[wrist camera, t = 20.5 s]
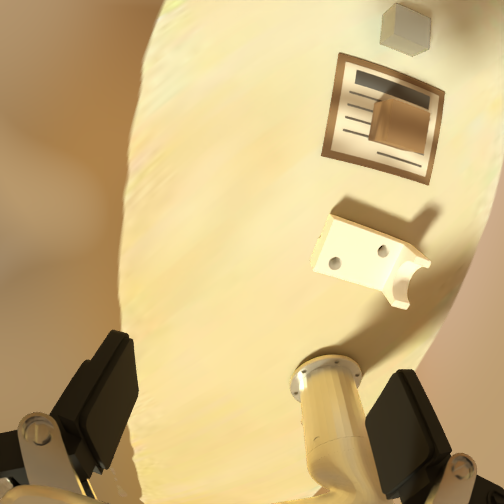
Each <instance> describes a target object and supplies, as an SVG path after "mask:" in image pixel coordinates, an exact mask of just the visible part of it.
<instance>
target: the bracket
mask: <svg viewBox="0 0 504 504" xmlns="http://www.w3.org/2000/svg"><path fill="white" fill-rule="evenodd" d="M382 245H383V246H382ZM380 246H382V248H381V249H380V250H378V249H379V247H380ZM333 257H335V258H334V259H332V258H333ZM330 259H332V260H330ZM310 263H311V266H312V269H313V271H316V272H319V273H322V274H326V275H329V276H332V277H336V278H339V279H343V280H346V281H349V282H353V283H356V284H360V285H363V286H366V287H370V288H373V289H377V290H380V291H382V293H383V294H384V296H385V297H386V298H387V300H388V301H389V303H390V304H391V306H393V307H397V308H401V309H405V310H407V309H408V307H409V305H410V303H409V301H408V296H407V291H408V285H409V282H410V279H411V277H412V275H413V274H414V272H415V271H416V270H417V269H419V268H420V267H426V268H429V266H430V264H431V261H430V260H429V259H428V258H427V257H425V256H424V255H423V254H422V253H421V252H420V251H418V250H417V249H416V248H415V247H414V246H412V245H411V244H410V243H408V242H405V241H403V240H400V239H397V238H395V237H392V236H390V235H387V234H384V233H382V232H379V231H377V230H374V229H371V228H368V227H366V226H363V225H360V224H358V223H355V222H352V221H349V220H346V219H344V218H341V217H338V216H335V215H332V214H329V216H328V219H327V221H326V224H325V227H324V229H323V232H322V234H321V237H319V238H318V241H317V243H316V246H315V248H314V251H313V253H312V256H311V258H310Z"/></svg>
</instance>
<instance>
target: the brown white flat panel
mask: <svg viewBox="0 0 504 504" xmlns="http://www.w3.org/2000/svg"><path fill="white" fill-rule="evenodd" d="M444 95H445V92H443V91H441V90H439V89H437V88H434V87H432V86H430V85H428V84H426V83H423V82H421V81H419V80H416V79H414V78H411V77H409V76H407V75H404V74H401V73H399V72H396V71H394V70H391V69H388V68H385V67H383V66H380V65H377V64H374V63H371V62H368V61H365V60H361V59H358V58H355V57H351V56H348V55H344V54H341V53H339V54H338V61H337V67H336V74H335V80H334V86H333V92H332V98H331V104H330V110H329V116H328V121H327V127H326V132H325V138H324V143H323V148H322V153H321V156H323V157H328V158H332V159H336V160H341V161H345V162H349V163H353V164H357V165H361V166H364V167H368V168H372V169H376V170H379V171H383V172H386V173H390V174H393V175H397V176H400V177H403V178H407V179H410V180H413V181H416V182H419V183H423V184H426V185H429V182H430V178H431V173H432V169H433V164H434V159H435V154H436V149H437V144H438V138H439V132H440V126H441V119H442V112H443V104H444ZM389 99H396V100H399V101H401V102H404V103H407V104H409V105H412V106H415V107H417V108H420V109H422V110H425V111H427V112H429V113H430V120H429V127H428V133H427V139H426V144H425V150H424V154H421V153H416V152H409V151H403V150H399V149H396V148H393V147H390V146H386V145H383V144H380V143H376V142H373V141H369V140H368V138H369V132H370V126H371V121H372V115H373V108H374V103H377V102H381V101H385V100H389Z"/></svg>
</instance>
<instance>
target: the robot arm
mask: <svg viewBox="0 0 504 504" xmlns="http://www.w3.org/2000/svg"><path fill="white" fill-rule="evenodd" d="M361 380H362V373H361V369H360V367H359V365H358V364H357V362H355V361H354V360H353V359H351V358H349V357H347V356H343V355H336V354H334V355H324V356H319V357H316V358H313V359H311V360H309V361H307V362H305V363H304V364H302V365H301V366H300V367H299V368H297V369H296V371H295V372H294V373H293V375H292V377H291V380H290V391H291V394H292V396H293V397H294V398H295V399H296V400H297V401H298V402H300V403H301V409H302V420H301V424H302V425H303V428H304V438H305V449H306V461H307V468H308V471H309V474H310V475H311V477H312V478H313V479H314V480H315V481H316V482H317V483H318V484H319V485H321V486H322V487H324V488H325V489H327V490H328V491H330V492H328V493H326V494H322V495H319V496H315V497H310V498H304V499H298V500H291V501H285V502H278V503H272V504H395V503H394V501H393V499H395V498H399V497H400V499H401V503H400V504H504V489H503V488H502V487H500V486H498V485H496V484H494V483H492V482H490V481H488V480H486V479H484V478H482V477H480V476H478V475H477V466H476V463H475V461H474V460H473V459H472V458H471V457H470V456H469V455H467V454H464V453H456V454H454V455H453V456H451V455H450V453H451V452H452V449H451V447H450V444H449V442H448V440H447V438H446V436H445V433H444V431H443V429H442V426H441V424H440V422H439V420H438V418H437V416H436V414H435V412H434V410H433V407H432V405H431V403H430V401H429V399H428V397H427V395H426V393H425V391H424V389H423V387H422V385H421V383H420V381H419V379H418V377H417V375H416V373H415V372H414V370H412V369H399V370H397V372H396V373H394V374H393V375H392V376H391V378H390V379H389V381H388V383H387V385H386V386H385V388H384V390H383V391H382V393H381V395H380V396H379V398H378V399H377V401H376V403H375V404H374V406H373V407H372V409H371V410H370V412H369V413H368V415H367V416H366V417H365V414H364V410H363V407H362V404H361V400H360V397H359V394H358V390H357V389H358V387H359V386H360V383H361ZM138 392H139V388H138V381H137V373H136V364H135V354H134V343H133V339H131V338H129V335H128V334H127V333H124V332H120V331H116V330H111V331H110V333H109V334H108V335H107V337H106V338H105V340H104V342H103V343H102V344H101V346H100V347H99V349H98V350H97V352H96V353H95V355H94V356H93V358H92V359H91V360H85V361H84V362H83V363H82V365H81V366H80V368H79V369H78V371H77V372H76V374H75V375H74V377H73V378H72V380H71V381H70V383H69V384H68V386H67V387H66V389H65V390H64V392H63V394H62V395H61V397H60V398H59V400H58V402H57V403H56V405H55V406H54V408H53V410H52V411H51V413H50V415H47V414H45V413H41V412H33V413H31V414H27V415H26V416H25V417H23V418H22V420H21V421H20V422H19V425H18V430H14V431H9V432H5V433H0V499H1V500H0V504H109V503H106V502H103V501H99V500H97V497H96V495H95V493H94V491H93V489H92V487H91V484H90V482H89V480H88V479H90V477H91V475H92V472H96V473H98V474H101V475H102V472H103V469H106V470H107V469H109V467H110V464H111V462H112V459H113V457H114V454H115V452H116V449H117V447H118V444H119V442H120V439H121V436H122V434H123V431H124V429H125V426H126V424H127V422H128V419H129V417H130V414H131V412H132V409H133V407H134V405H135V402H136V400H137V397H138Z"/></svg>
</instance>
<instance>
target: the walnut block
mask: <svg viewBox="0 0 504 504" xmlns="http://www.w3.org/2000/svg"><path fill="white" fill-rule="evenodd" d="M429 120H430V113H429V112H427V111H425V110H422V109H420V108H417V107H415V106H412V105H409V104H407V103H404V102H401V101H399V100H396V99H389V100H385V101H381V102H377V103H374V108H373V115H372V121H371V126H370V132H369V138H368V140H369V141H373V142H376V143H380V144H383V145H386V146H390V147H393V148H396V149H399V150H403V151H409V152H416V153H421V154H424V150H425V144H426V139H427V133H428V127H429Z"/></svg>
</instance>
